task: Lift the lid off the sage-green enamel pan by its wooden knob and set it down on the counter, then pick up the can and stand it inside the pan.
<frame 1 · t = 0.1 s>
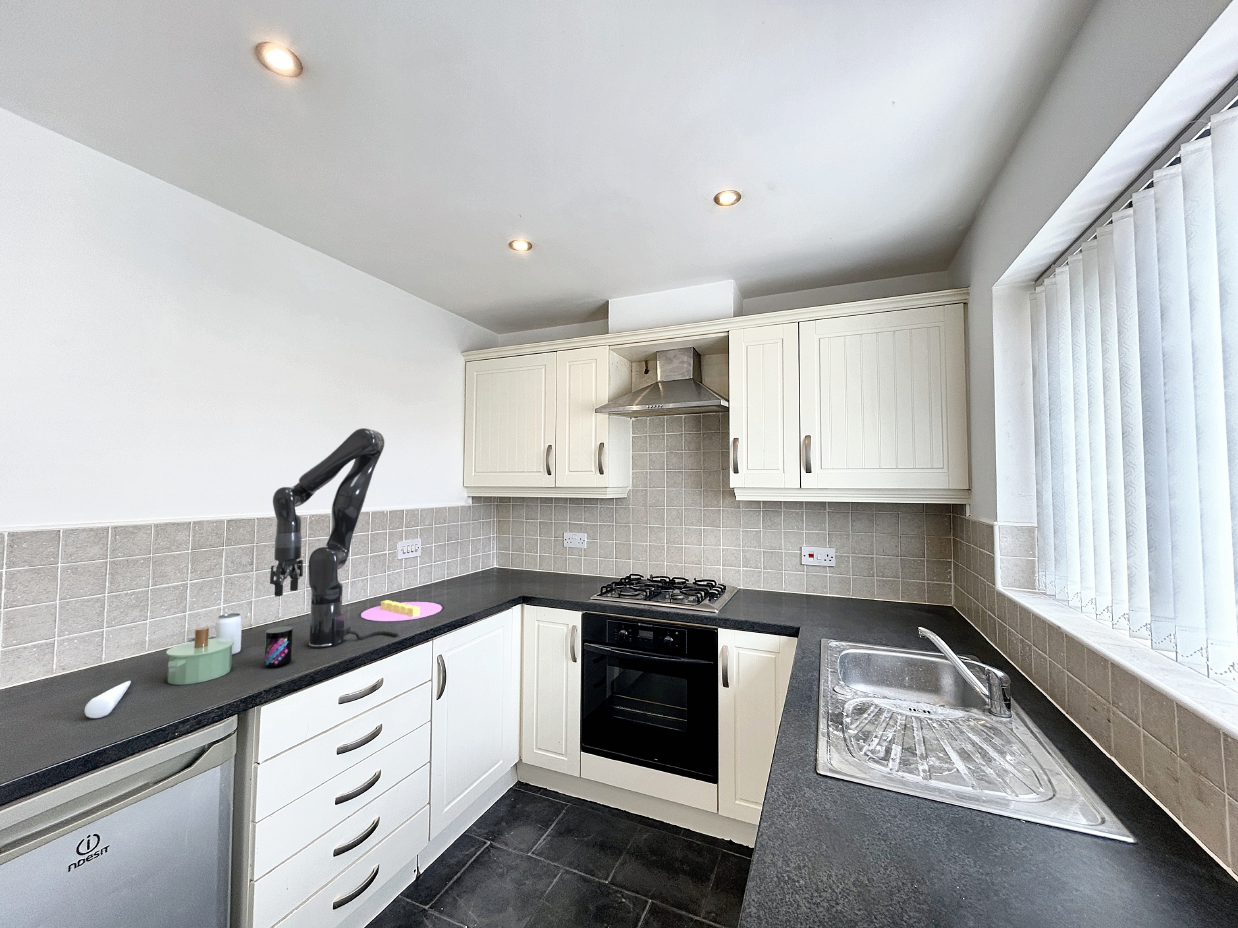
hand: (286, 593, 165), 17 cm above the worktop, tool pointing down, fingers open, 8 cm apart
can: (227, 653, 156), on the worktop
egg carton: (204, 650, 159), on the worktop
pan lid: (201, 647, 138), point 7 cm above the worktop, touching pan
platter: (402, 611, 209), on the worktop
unicorn horn: (112, 702, 121), on the worktop
supplement container: (278, 665, 146), on the worktop
pan: (199, 674, 138), on the worktop
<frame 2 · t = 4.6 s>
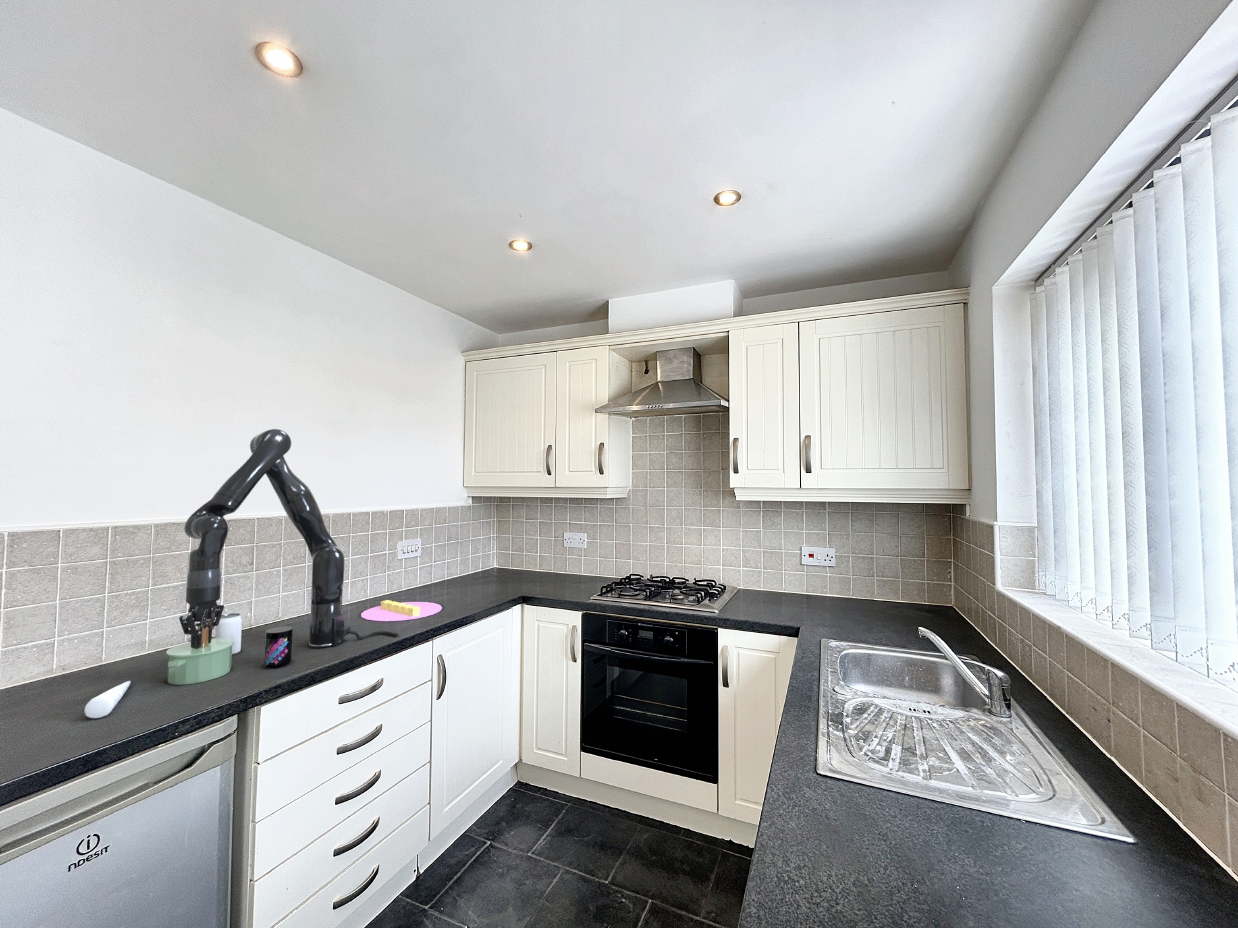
hand: (201, 645, 138), 8 cm above the worktop, tool pointing down, fingers closed on pan lid, 3 cm apart
pan lid: (201, 647, 138), point 7 cm above the worktop, touching gripper, pan
everything else where it was.
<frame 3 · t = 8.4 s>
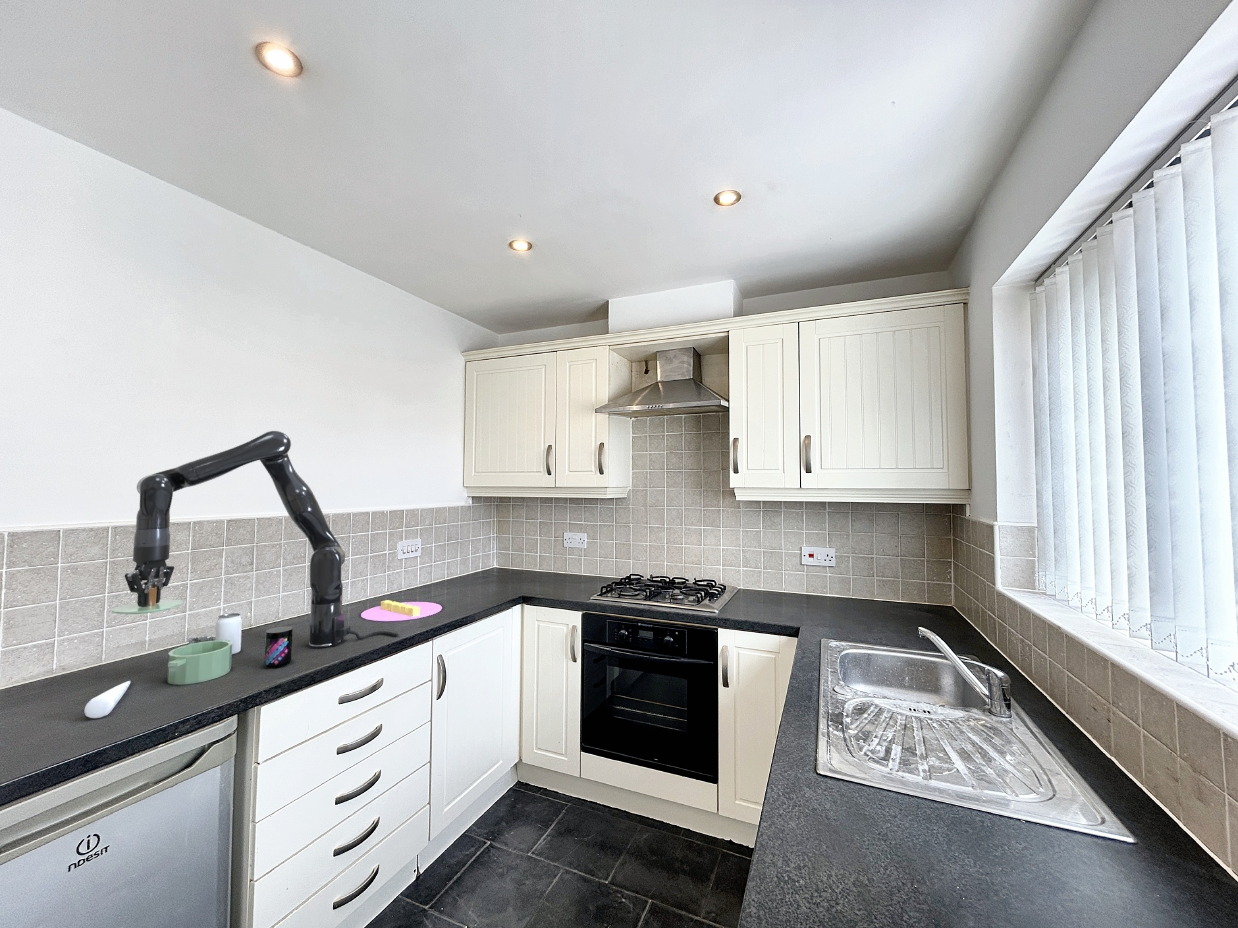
hand: (148, 604, 139), 20 cm above the worktop, tool pointing down, fingers closed on pan lid, 3 cm apart
pan lid: (148, 607, 139), point 19 cm above the worktop, touching gripper
everything else where it was.
when the fingers open (1 cm above the worktop, at t = 12.6 s): pan lid stays where it is, point 1 cm above the worktop.
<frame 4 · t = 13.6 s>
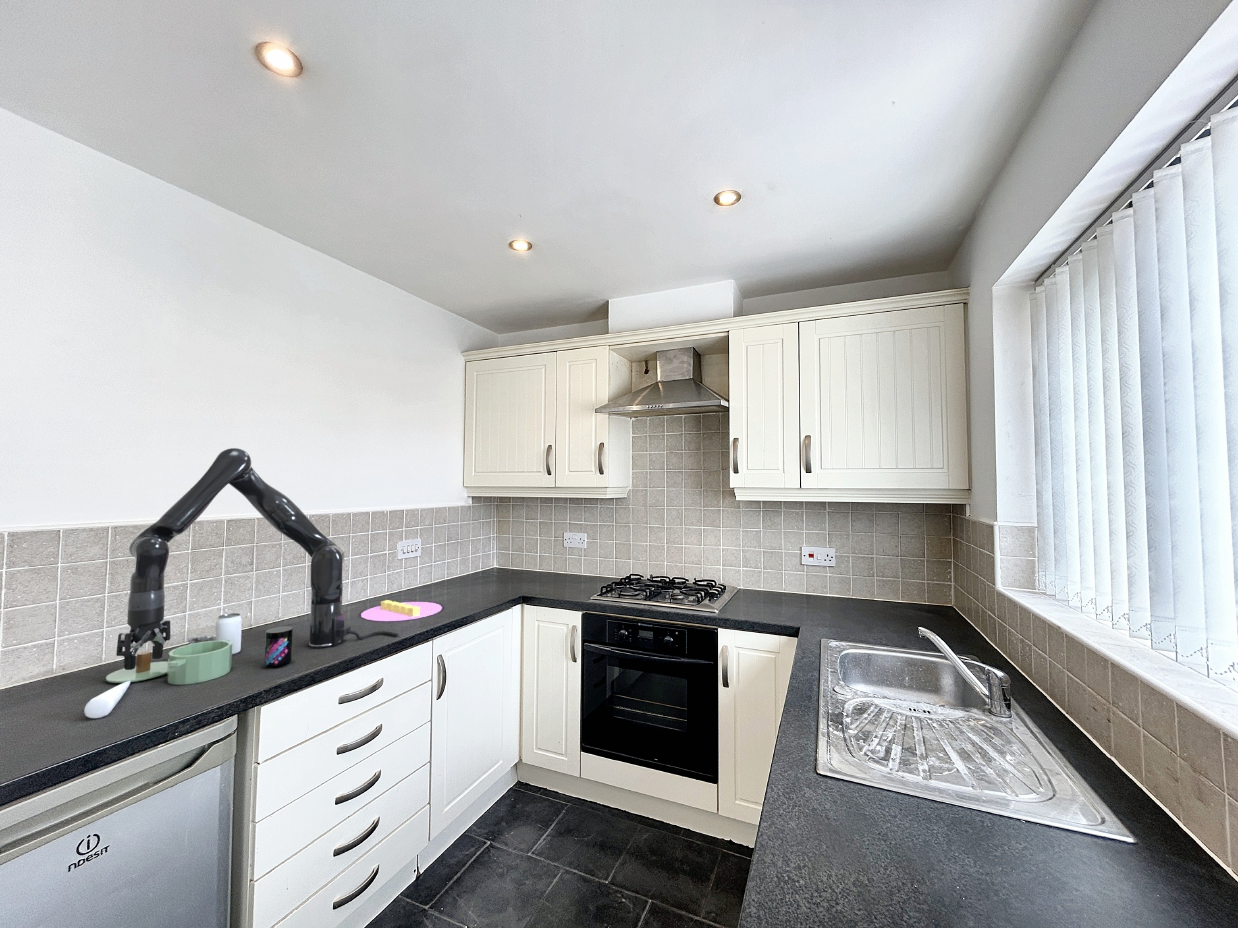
hand: (144, 663, 138), 3 cm above the worktop, tool pointing down, fingers open, 8 cm apart
pan lid: (143, 672, 138), point 1 cm above the worktop
everything else where it was.
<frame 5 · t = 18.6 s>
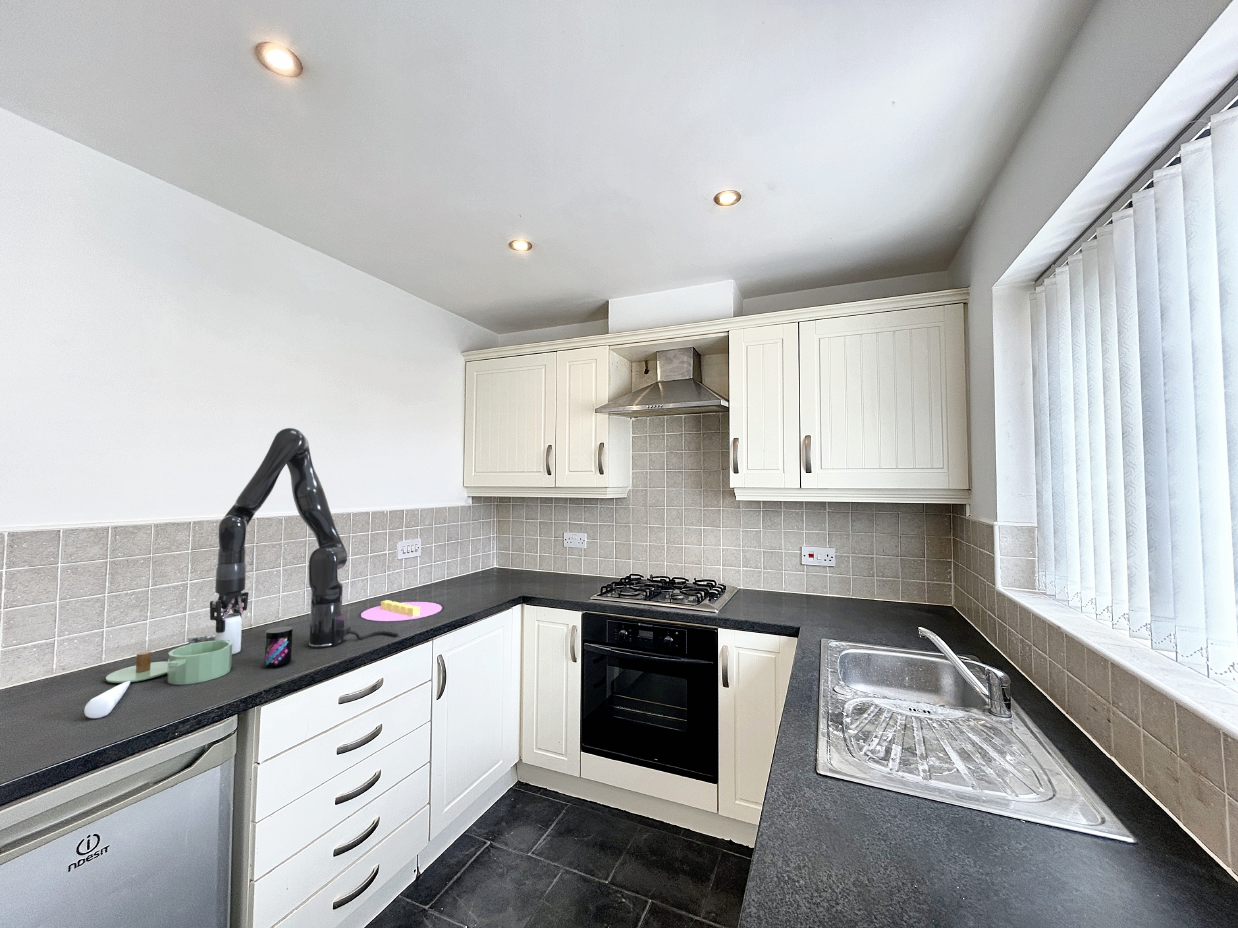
hand: (228, 628, 156), 8 cm above the worktop, tool pointing down, fingers closed on can, 6 cm apart
can: (227, 653, 156), on the worktop, touching gripper
everything else where it was.
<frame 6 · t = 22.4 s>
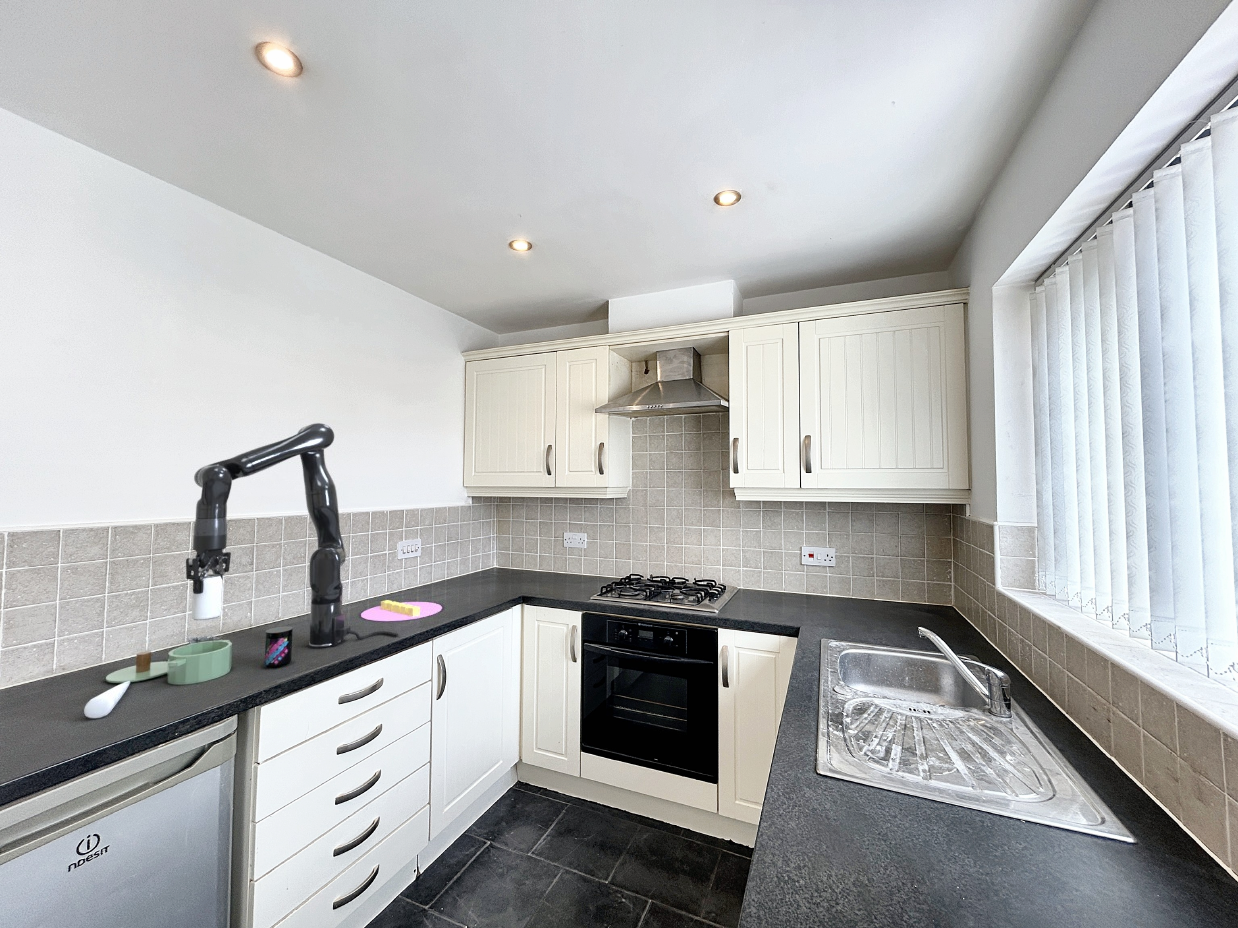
hand: (207, 590, 142), 23 cm above the worktop, tool pointing down, fingers closed on can, 6 cm apart
can: (206, 618, 141), point 15 cm above the worktop, touching gripper
everything else where it was.
when the fingers open (8 cm above the worktop, at t = 26.4 s): can stays where it is, resting on pan.
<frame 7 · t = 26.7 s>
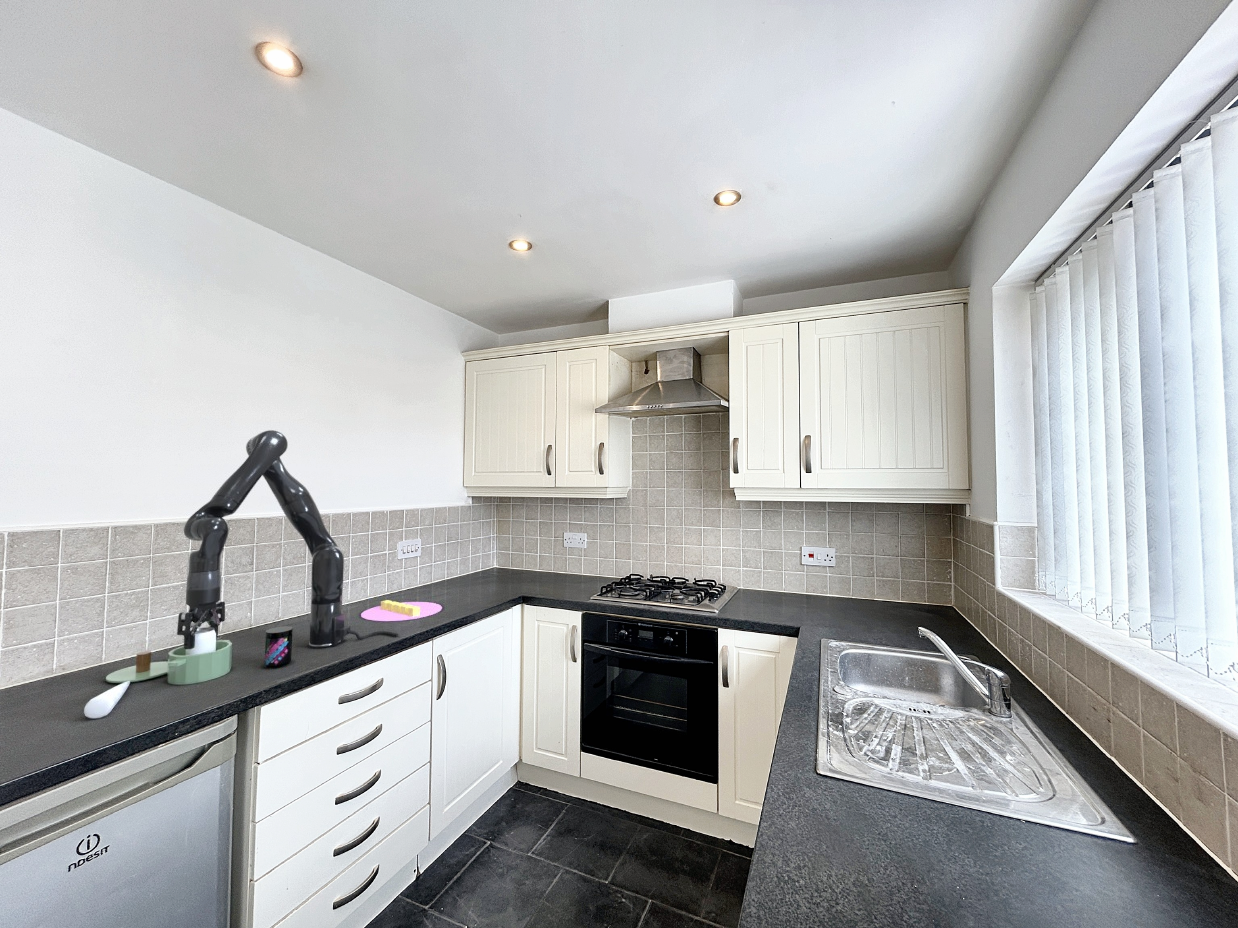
hand: (201, 643, 138), 9 cm above the worktop, tool pointing down, fingers open, 8 cm apart
can: (199, 673, 138), resting on pan
everything else where it was.
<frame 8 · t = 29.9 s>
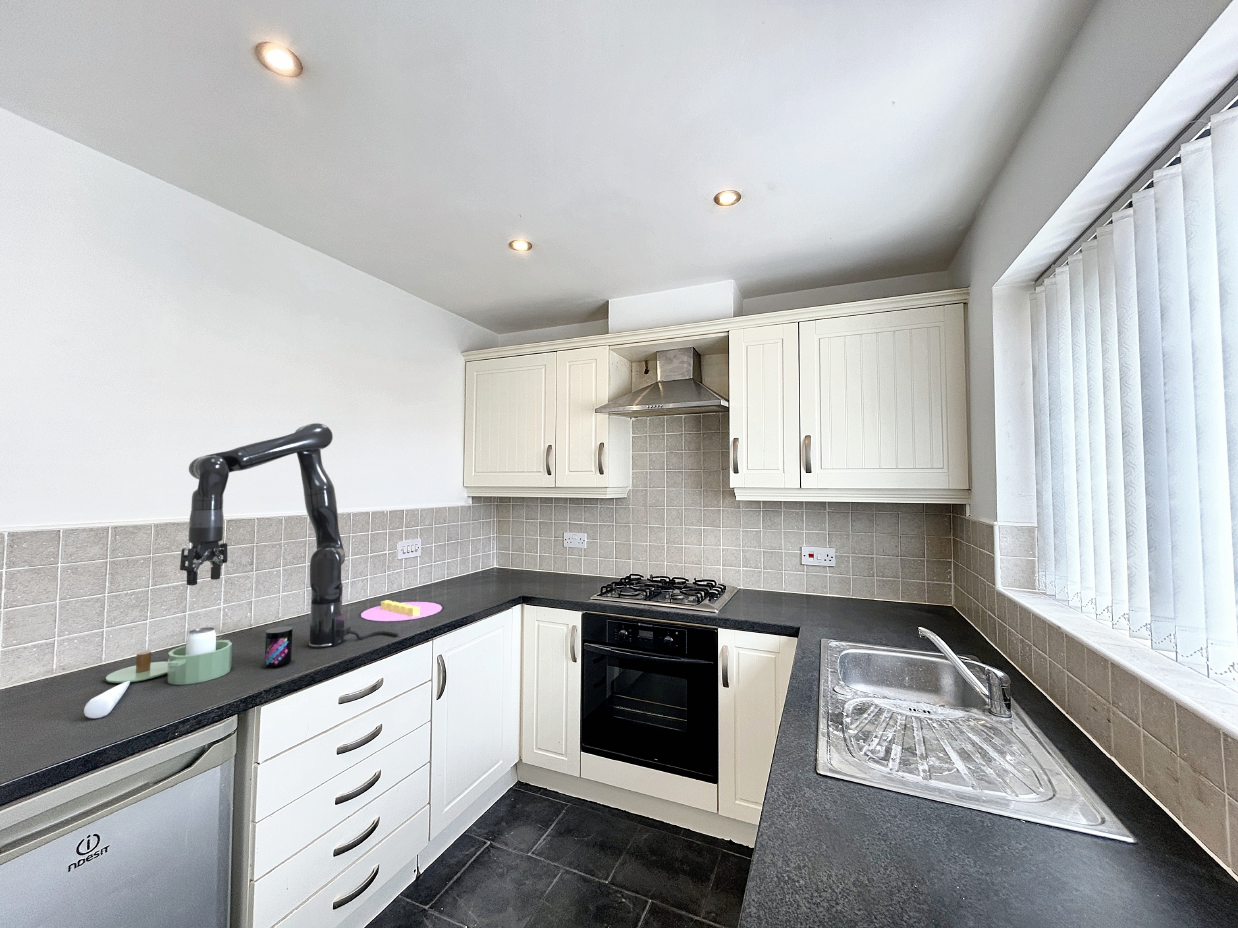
hand: (204, 582, 139), 26 cm above the worktop, tool pointing down, fingers open, 8 cm apart
nothing on the worktop moved.
at the end: pan lid inside the target area (0.1 cm from its centre), point 0.6 cm above the worktop; can inside the target area in the pan (0.1 cm from its centre), point 0.3 cm above the pan's base; can tilted 0° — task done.
